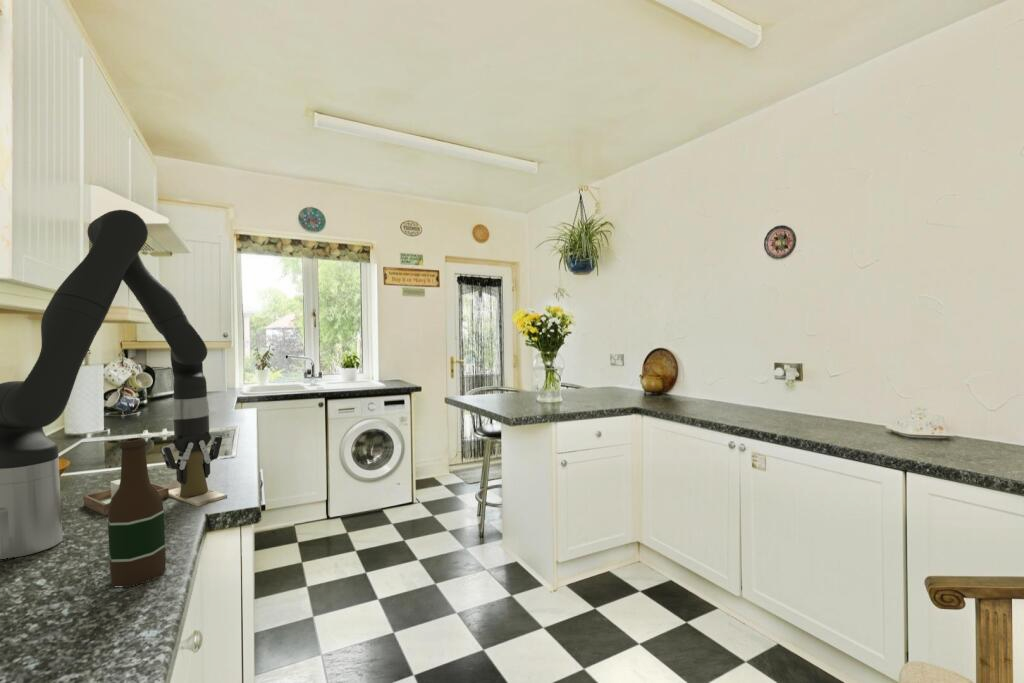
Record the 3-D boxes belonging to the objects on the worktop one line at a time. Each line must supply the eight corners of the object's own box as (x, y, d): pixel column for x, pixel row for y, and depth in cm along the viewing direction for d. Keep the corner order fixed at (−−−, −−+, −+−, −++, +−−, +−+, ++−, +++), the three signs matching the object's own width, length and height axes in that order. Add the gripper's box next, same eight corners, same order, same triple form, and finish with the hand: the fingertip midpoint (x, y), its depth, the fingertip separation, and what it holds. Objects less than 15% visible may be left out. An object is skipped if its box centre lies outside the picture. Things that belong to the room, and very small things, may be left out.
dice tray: (104, 515, 108) (104, 505, 108) (83, 505, 115) (83, 495, 114) (168, 497, 119) (168, 488, 119) (146, 489, 126) (146, 480, 126)
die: (118, 505, 113) (117, 484, 113) (111, 501, 116) (110, 481, 116) (143, 498, 118) (143, 478, 117) (136, 494, 120) (135, 475, 120)
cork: (185, 498, 116) (182, 454, 116) (176, 494, 119) (173, 451, 119) (212, 491, 121) (209, 449, 120) (202, 487, 124) (200, 446, 124)
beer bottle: (101, 593, 75) (94, 447, 74) (119, 571, 82) (113, 437, 81) (159, 582, 78) (153, 441, 77) (172, 561, 85) (166, 432, 84)
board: (197, 506, 112) (197, 503, 112) (152, 490, 125) (152, 487, 125) (227, 497, 118) (227, 494, 118) (181, 482, 131) (181, 480, 131)
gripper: (213, 409, 127) (215, 470, 128) (152, 418, 115) (154, 486, 116) (228, 411, 124) (230, 474, 124) (166, 421, 111) (169, 491, 112)
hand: (193, 480), depth 120 cm, fingers open, 4 cm apart
